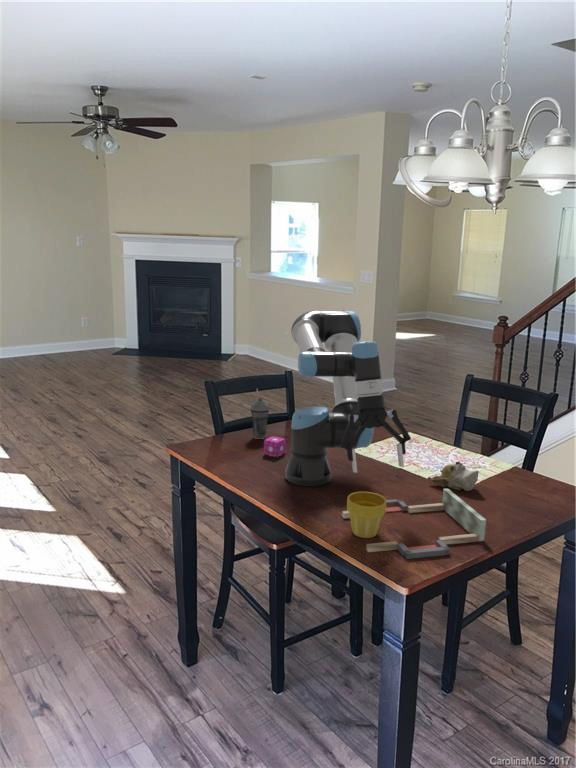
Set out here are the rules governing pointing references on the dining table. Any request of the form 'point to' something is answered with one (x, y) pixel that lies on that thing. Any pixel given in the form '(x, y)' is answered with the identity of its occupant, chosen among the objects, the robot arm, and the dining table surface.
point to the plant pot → (365, 513)
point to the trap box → (455, 509)
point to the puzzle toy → (274, 445)
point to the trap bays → (419, 550)
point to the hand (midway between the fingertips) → (378, 469)
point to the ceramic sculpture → (456, 476)
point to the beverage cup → (259, 417)
